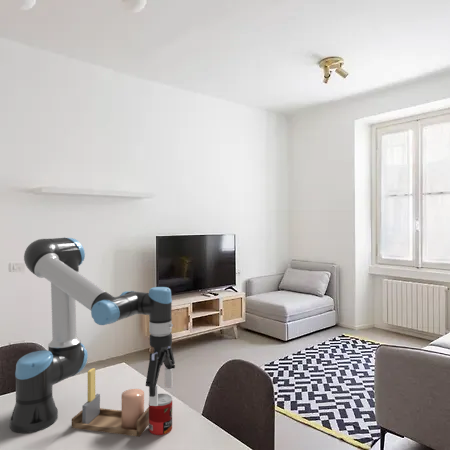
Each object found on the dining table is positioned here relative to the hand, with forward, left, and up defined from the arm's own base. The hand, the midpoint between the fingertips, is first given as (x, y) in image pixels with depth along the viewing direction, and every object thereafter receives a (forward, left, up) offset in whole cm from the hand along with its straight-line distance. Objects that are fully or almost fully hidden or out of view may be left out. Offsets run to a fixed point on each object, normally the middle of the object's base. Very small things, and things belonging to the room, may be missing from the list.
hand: (161, 395), depth 127 cm
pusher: (-26, 0, -12) cm, 29 cm away
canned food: (0, 0, -12) cm, 12 cm away
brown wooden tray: (-18, 0, -12) cm, 21 cm away
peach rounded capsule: (-11, 0, -11) cm, 15 cm away
